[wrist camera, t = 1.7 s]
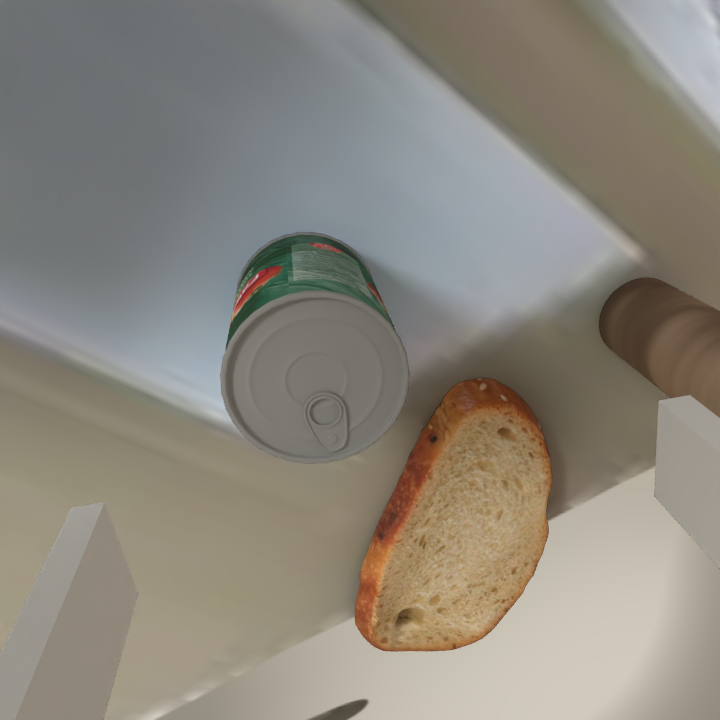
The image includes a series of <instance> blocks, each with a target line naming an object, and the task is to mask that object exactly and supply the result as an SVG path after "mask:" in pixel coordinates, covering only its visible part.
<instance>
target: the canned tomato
mask: <svg viewBox="0 0 720 720" xmlns="http://www.w3.org/2000/svg"><path fill="white" fill-rule="evenodd" d="M220 378H221V393H222V397H223V400H224V404H225V407H226V410H227V412H228V414H229V416H230V417H231V419H232V421H233V423H234V425H235V426H236V427H237V428H238V429H239V431H240V432H241V433H242V434H243V435H244V437H245V438H247V439H248V440H249V441H250V442H252V443H253V444H254V445H255V446H257V447H258V448H259V449H261V450H263V451H265V452H267V453H269V454H271V455H273V456H275V457H278V458H281V459H284V460H287V461H291V462H298V463H306V464H314V463H328V462H333V461H338V460H342V459H345V458H347V457H350V456H353V455H355V454H358V453H360V452H361V451H363V450H364V449H366V448H368V447H369V446H371V445H373V444H374V443H375V442H376V441H377V440H379V439H380V438H381V437H382V436H383V435H384V434H385V433H386V432H387V431H388V430H389V428H390V427H391V426H392V424H393V423H394V422H395V421H396V419H397V417H398V415H399V413H400V411H401V409H402V407H403V405H404V402H405V399H406V395H407V391H408V384H409V367H408V361H407V354H406V352H405V349H404V347H403V344H402V341H401V339H400V337H399V336H398V334H397V333H396V331H395V328H394V325H393V324H392V321H391V319H390V317H389V315H388V312H387V310H386V308H385V306H384V304H383V301H382V299H381V297H380V295H379V293H378V291H377V288H376V286H375V284H374V282H373V279H372V277H371V274H370V272H369V269H368V268H367V266H366V265H365V263H364V262H363V260H362V259H361V258H360V257H359V256H358V255H357V254H356V253H355V251H354V250H353V249H352V248H350V247H349V246H347V245H346V244H344V243H343V242H341V241H339V240H337V239H335V238H332V237H330V236H327V235H323V234H318V233H294V234H289V235H284V236H282V237H280V238H277V239H275V240H272V241H271V242H269V243H268V244H266V245H265V246H263V247H262V248H260V249H259V250H258V251H257V252H256V253H255V254H254V255H253V256H252V257H251V258H250V260H249V261H248V263H247V265H246V266H245V268H244V269H243V271H242V274H241V276H240V279H239V281H238V286H237V292H236V299H235V304H234V309H233V314H232V319H231V324H230V329H229V335H228V340H227V344H226V351H225V354H224V357H223V361H222V367H221V374H220Z"/></svg>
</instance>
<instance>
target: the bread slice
mask: <svg viewBox="0 0 720 720" xmlns="http://www.w3.org/2000/svg"><path fill="white" fill-rule="evenodd" d="M551 485H552V469H551V463H550V456H549V452H548V449H547V445H546V442H545V438H544V435H543V432H542V429H541V427H540V424H539V422H538V420H537V418H536V416H535V415H534V413H533V411H532V410H531V409H530V408H529V406H528V405H527V404H526V403H525V401H524V400H523V399H522V398H521V397H519V396H518V395H517V394H516V393H515V392H514V391H513V390H511V389H510V388H508V387H507V386H504V385H502V384H500V383H498V382H497V381H495V380H493V379H486V378H478V379H472V380H467V381H463V382H460V383H458V384H456V385H455V386H454V387H453V388H452V389H451V390H450V391H449V392H448V393H447V394H446V395H445V396H444V398H443V401H442V403H441V405H440V406H439V407H438V408H437V409H436V411H435V412H434V414H433V415H432V417H431V419H430V421H429V422H428V424H427V425H426V426H425V428H424V429H423V430H422V432H421V433H420V435H419V438H418V441H417V443H416V445H415V447H414V449H413V450H412V452H411V453H410V455H409V457H408V461H407V464H406V467H405V469H404V471H403V473H402V475H401V477H400V479H399V481H398V483H397V486H396V488H395V490H394V492H393V494H392V496H391V498H390V500H389V502H388V504H387V506H386V508H385V510H384V512H383V515H382V517H381V519H380V521H379V523H378V525H377V528H376V530H375V532H374V535H373V538H372V540H371V543H370V546H369V549H368V551H367V554H366V556H365V558H364V561H363V564H362V568H361V571H360V586H359V591H358V595H357V599H356V605H355V624H356V626H357V628H358V629H359V631H360V633H361V634H362V635H363V637H364V638H365V639H366V640H367V641H368V642H369V643H370V644H371V645H373V646H374V647H376V648H378V649H381V650H383V651H445V650H453V649H457V648H460V647H463V646H466V645H469V644H472V643H474V642H476V641H478V640H480V639H482V638H483V637H484V636H486V635H487V634H488V633H489V632H491V631H492V630H493V629H494V628H495V626H496V625H497V624H498V623H499V621H500V620H501V619H502V618H503V617H504V615H505V614H506V613H507V612H508V610H509V609H510V608H511V607H512V606H513V605H514V603H515V602H516V601H517V599H518V598H519V597H520V596H521V595H522V593H523V591H524V589H525V587H526V585H527V583H528V582H529V580H530V579H531V577H532V576H533V575H534V572H535V570H536V567H537V564H538V562H539V559H540V558H541V555H542V553H543V550H544V546H545V543H546V541H547V538H548V533H549V528H548V521H547V516H546V507H547V500H548V495H549V492H550V489H551Z"/></svg>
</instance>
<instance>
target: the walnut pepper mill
mask: <svg viewBox="0 0 720 720" xmlns="http://www.w3.org/2000/svg"><path fill="white" fill-rule="evenodd" d="M599 329H600V334H601V337H602V339H603V341H604V342H605V344H606V345H607V346H608V347H609V348H610V349H611V350H613V351H614V352H615V353H616V354H617V355H619V356H620V357H621V358H622V359H624V360H625V361H626V362H627V363H628V364H630V365H631V366H632V367H633V368H635V369H636V370H637V371H638V372H640V373H641V374H642V375H643V376H644V377H646V378H647V379H648V380H649V381H651V382H652V383H653V384H654V385H655V386H657V387H658V388H659V389H660V390H662V391H663V392H664V393H665V394H667V395H668V396H669V397H670V398H676V397H681V396H687V395H691V396H692V397H693V398H694V399H696V400H697V401H698V402H700V403H701V404H702V405H703V406H705V407H706V408H707V409H709V410H710V411H711V412H713V413H714V414H715V415H716V416H718V417H719V418H720V311H718V310H716V309H714V308H712V307H710V306H709V305H707V304H705V303H703V302H701V301H699V300H697V299H695V298H693V297H691V296H690V295H688V294H686V293H684V292H682V291H680V290H678V289H676V288H674V287H673V286H671V285H669V284H667V283H665V282H663V281H661V280H658V279H655V278H639V279H635V280H632V281H630V282H627V283H626V284H624V285H622V286H621V287H619V288H618V289H617V290H616V291H615V292H613V294H612V295H611V296H610V297H609V298H608V300H607V301H606V303H605V305H604V306H603V309H602V311H601V315H600V320H599Z"/></svg>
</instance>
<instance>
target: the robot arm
mask: <svg viewBox="0 0 720 720" xmlns="http://www.w3.org/2000/svg"><path fill="white" fill-rule="evenodd" d="M654 496H655V497H656V499H657V500H658V501H659V502H660V503H661V504H662V505H663V506H664V507H665V509H666V510H667V511H668V512H669V513H670V514H671V515H672V516H673V518H675V520H676V521H677V522H678V523H679V524H680V525H681V526H682V527H683V529H685V531H686V532H687V533H688V534H689V535H690V536H691V538H692V539H693V540H694V541H695V542H696V543H697V544H698V545H699V546H700V548H701V549H702V550H703V551H704V552H705V553H706V554H707V555H708V556H709V558H710V559H711V560H712V561H713V562H714V563H715V564H716V565H717V566H718V568H719V569H720V418H719V417H718V416H716V415H715V414H714V413H713V412H711V411H710V410H709V409H707V408H706V407H705V406H703V405H702V404H701V403H700V402H698V401H697V400H696V399H694V398H693V397H692V396H691V395H687V396H681V397H676V398H670V399H665V400H659V406H658V427H657V449H656V471H655V491H654ZM137 597H138V592H137V589H136V586H135V584H134V581H133V578H132V575H131V573H130V570H129V567H128V564H127V562H126V559H125V556H124V553H123V551H122V548H121V545H120V542H119V540H118V537H117V534H116V531H115V528H114V526H113V523H112V520H111V517H110V515H109V512H108V509H107V506H106V504H105V502H102V503H96V504H91V505H85V506H80V507H74V508H71V509H70V512H69V514H68V516H67V518H66V520H65V522H64V524H63V526H62V528H61V530H60V532H59V534H58V536H57V538H56V540H55V542H54V544H53V546H52V549H51V551H50V553H49V555H48V557H47V559H46V561H45V563H44V565H43V567H42V569H41V571H40V573H39V575H38V577H37V579H36V581H35V583H34V586H33V588H32V590H31V592H30V594H29V596H28V598H27V600H26V602H25V604H24V606H23V608H22V610H21V612H20V614H19V616H18V618H17V621H16V623H15V625H14V627H13V629H12V631H11V633H10V635H9V637H8V639H7V641H6V643H5V645H4V647H3V649H2V651H1V653H0V720H104V716H105V713H106V709H107V706H108V702H109V698H110V695H111V691H112V687H113V684H114V680H115V677H116V673H117V669H118V666H119V662H120V658H121V655H122V651H123V647H124V644H125V640H126V637H127V633H128V629H129V626H130V622H131V618H132V615H133V611H134V607H135V604H136V600H137Z"/></svg>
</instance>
